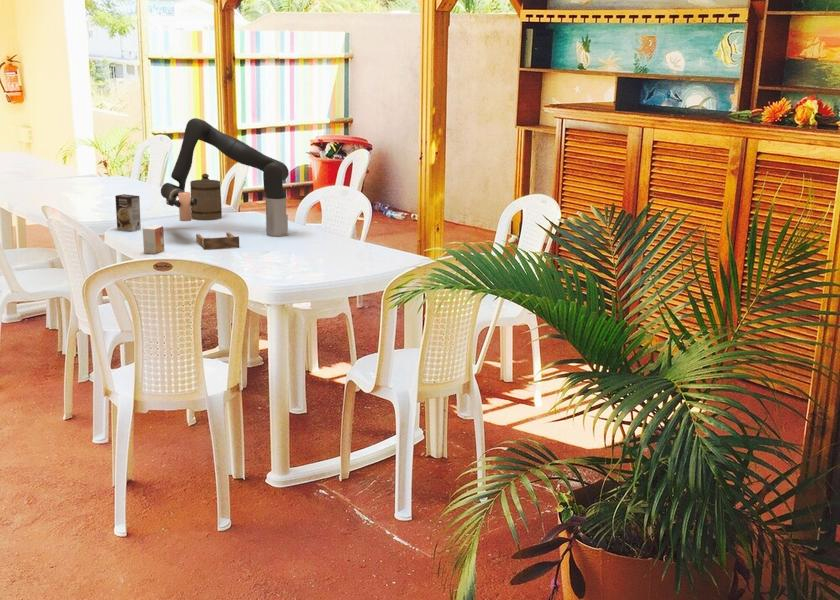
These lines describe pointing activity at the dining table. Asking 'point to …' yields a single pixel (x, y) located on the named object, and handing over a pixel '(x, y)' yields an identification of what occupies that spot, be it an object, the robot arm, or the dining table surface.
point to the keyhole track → (218, 242)
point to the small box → (153, 239)
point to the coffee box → (128, 212)
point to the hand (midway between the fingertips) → (186, 204)
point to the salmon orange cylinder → (185, 206)
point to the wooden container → (206, 199)
